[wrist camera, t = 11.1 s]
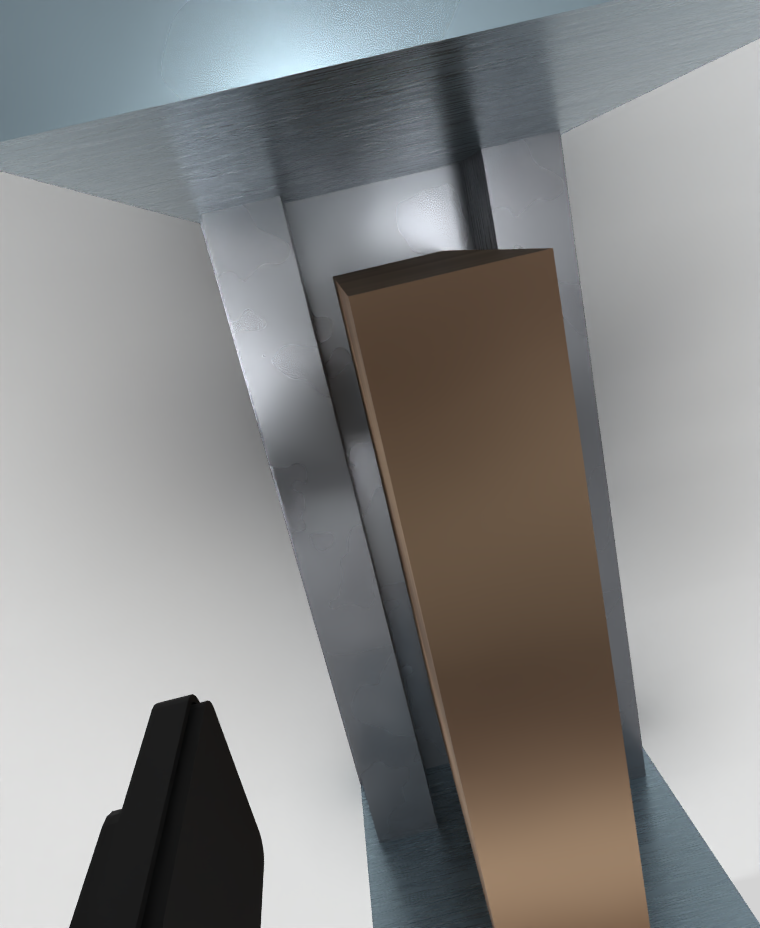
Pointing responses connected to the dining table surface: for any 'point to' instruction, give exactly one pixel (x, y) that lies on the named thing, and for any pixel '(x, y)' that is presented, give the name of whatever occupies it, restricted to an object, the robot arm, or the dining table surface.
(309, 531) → the door track
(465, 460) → the brown rectangular block
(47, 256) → the dining table surface
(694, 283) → the dining table surface
